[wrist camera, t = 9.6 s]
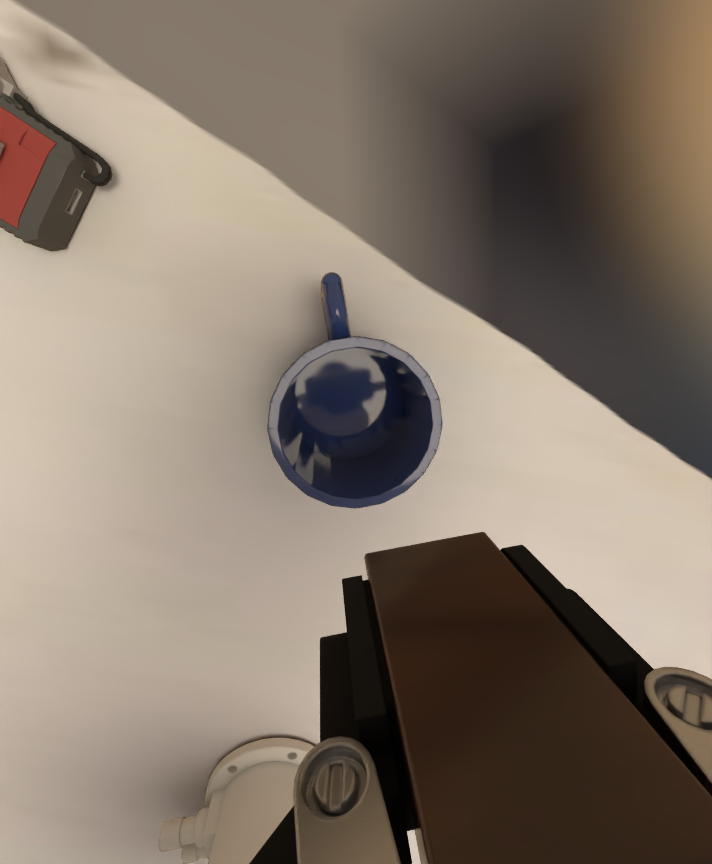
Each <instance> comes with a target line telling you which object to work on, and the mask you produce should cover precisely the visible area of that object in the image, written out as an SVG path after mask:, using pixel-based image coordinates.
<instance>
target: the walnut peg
mask: <svg viewBox="0 0 712 864" xmlns="http://www.w3.org/2000/svg"><path fill="white" fill-rule="evenodd" d="M364 558H365V564H366V570H367V576H368V580H369V583H370V588H371V593H372V598H373V602H374V607H375V612H376V617H377V622H378V627H379V631H380V636H381V641H382V646H383V651H384V656H385V661H386V665H387V670H388V675H389V680H390V685H391V690H392V695H393V700H394V705H395V710H396V716H397V721H398V728H399V734H400V740H401V746H402V752H403V759H404V765H405V771H406V777H407V784H408V790H409V796H410V802H411V809H412V815H413V821H414V828H415V829H414V830H415V835H416V840H417V846H418V851H419V856H420V861H421V864H712V796H711V795H710V794H709V793H708V791H707V790H706V789H705V788H704V787H703V786H702V784H701V783H700V782H699V781H698V780H697V779H696V777H695V776H694V775H693V774H692V773H691V772H690V770H689V769H688V768H687V767H686V766H685V765H684V763H683V762H682V761H681V760H680V759H679V758H678V756H677V755H676V754H675V753H674V752H673V751H672V749H671V748H670V747H669V746H668V745H667V744H666V743H665V741H664V740H663V739H662V738H661V737H660V736H659V734H658V733H657V732H656V731H655V730H654V729H653V727H652V726H651V725H650V724H649V723H648V722H647V720H646V719H645V718H644V717H643V716H642V715H641V713H640V712H639V711H638V710H637V709H636V708H635V706H634V705H633V704H632V703H631V702H630V701H629V700H628V698H627V697H626V696H625V695H624V694H623V693H622V691H621V690H620V689H619V688H618V687H617V686H616V684H615V683H614V682H613V681H612V680H611V679H610V677H609V676H608V675H607V674H606V673H605V672H604V670H603V669H602V668H601V667H600V666H599V665H598V663H597V662H596V661H595V660H594V659H593V658H592V657H591V655H590V654H589V653H588V652H587V651H586V650H585V648H584V647H583V646H582V645H581V644H580V643H579V641H578V640H577V639H576V638H575V637H574V636H573V634H572V633H571V632H570V631H569V630H568V629H567V627H566V626H565V625H564V624H563V623H562V622H561V620H560V619H559V618H558V617H557V616H556V615H555V614H554V612H553V611H552V610H551V609H550V608H549V607H548V605H547V604H546V603H545V602H544V601H543V600H542V598H541V597H540V596H539V595H538V594H537V593H536V591H535V590H534V589H533V588H532V587H531V586H530V584H529V583H528V582H527V581H526V580H525V579H524V577H523V576H522V575H521V574H520V573H519V572H518V571H517V569H516V568H515V567H514V566H513V565H512V564H511V562H510V561H509V560H508V559H507V558H506V557H505V555H504V554H503V553H502V552H501V551H500V550H499V548H498V547H497V546H496V545H495V544H494V543H493V541H492V540H491V539H490V538H489V537H488V536H487V534H486V533H484V532H479V533H474V534H468V535H463V536H458V537H452V538H447V539H442V540H436V541H431V542H426V543H420V544H415V545H410V546H404V547H399V548H394V549H389V550H383V551H378V552H373V553H367V554H365V557H364Z"/></svg>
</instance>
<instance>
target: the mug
mask: <svg viewBox="0 0 712 864" xmlns="http://www.w3.org/2000/svg"><path fill="white" fill-rule="evenodd" d="M321 300H322V306H323V311H324V317H325V323H326V329H327V335H328V341H325V342H323V343H321V344H319V345H317V346H315V347H314V348H312V349H310V350H308V351H306V352H305V353H303V354H302V355H301V356H300V357H299V358H298V359H297V360H296V361H295V362H294V363H293V364H292V365H291V366H290V368H289V369H288V370H287V371H286V372H285V373H284V374H283V375H282V377H281V379H280V381H279V383H278V385H277V387H276V390H275V392H274V394H273V396H272V398H271V401H270V408H269V417H268V426H267V428H268V434H269V439H270V443H271V448H272V452H273V454H274V457H275V459H276V461H277V462H278V464H279V466H280V467H281V469H282V471H283V472H284V474H285V476H286V477H287V478H288V479H289V480H290V481H291V482H292V483H293V484H294V485H296V486H297V487H298V488H299V489H300V490H301V491H302V492H304V493H305V494H306V495H308V496H310V497H312V498H314V499H317V500H319V501H321V502H324V503H326V504H328V505H331V506H338V507H347V508H361V507H367V506H372V505H377V504H382V503H384V502H386V501H388V500H390V499H392V498H394V497H396V496H398V495H400V494H402V493H404V492H405V491H407V490H408V489H409V488H410V487H411V486H412V485H413V484H414V483H415V482H416V481H417V480H418V479H419V478H420V477H421V476H422V475H423V474H424V473H425V471H426V469H427V468H428V466H429V464H430V462H431V460H432V459H433V457H434V455H435V453H436V451H437V449H438V444H439V439H440V434H441V430H442V416H441V407H440V399H439V396H438V394H437V392H436V390H435V387H434V385H433V383H432V381H431V379H430V376H429V375H428V373H427V372H426V371H425V370H424V369H423V368H422V367H421V366H420V364H419V363H418V362H417V361H416V360H415V359H414V358H413V357H412V356H411V355H410V354H409V353H407V352H405V351H403V350H401V349H400V348H398V347H396V346H394V345H392V344H390V343H388V342H386V341H384V340H378V339H372V338H366V337H360V336H353V337H351V334H350V327H349V321H348V314H347V308H346V302H345V295H344V289H343V282H342V279H341V277H340V276H339V275H338V274H337V273H334V272H329V273H327V274H325V275H324V276H323V278H322V280H321Z"/></svg>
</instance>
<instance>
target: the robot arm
mask: <svg viewBox="0 0 712 864" xmlns="http://www.w3.org/2000/svg"><path fill="white" fill-rule="evenodd" d="M501 552H502V553H503V554H504V555H505V557H506V558H507V559H508V560H509V561H510V562H511V564H512V565H513V566H514V567H515V568H516V569H517V571H518V572H519V573H520V574H521V575H522V576H523V577H524V579H525V580H526V581H527V582H528V583H529V584H530V586H531V587H532V588H533V589H534V590H535V591H536V593H537V594H538V595H539V596H540V597H541V598H542V600H543V601H544V602H545V603H546V604H547V605H548V607H549V608H550V609H551V610H552V611H553V612H554V614H555V615H556V616H557V617H558V618H559V619H560V620H561V622H562V623H563V624H564V625H565V626H566V627H567V629H568V630H569V631H570V632H571V633H572V634H573V636H574V637H575V638H576V639H577V640H578V641H579V643H580V644H581V645H582V646H583V647H584V648H585V650H586V651H587V652H588V653H589V654H590V655H591V657H592V658H593V659H594V660H595V661H596V662H597V663H598V665H599V666H600V667H601V668H602V669H603V670H604V672H605V673H606V674H607V675H608V676H609V677H610V679H611V680H612V681H613V682H614V683H615V684H616V686H617V687H618V688H619V689H620V690H621V691H622V693H623V694H624V695H625V696H626V697H627V698H628V700H629V701H630V702H631V703H632V704H633V705H634V706H635V708H636V709H637V710H638V711H639V712H640V713H641V715H642V716H643V717H644V718H645V719H646V720H647V722H648V723H649V724H650V725H651V726H652V727H653V729H654V730H655V731H656V732H657V733H658V734H659V736H660V737H661V738H662V739H663V740H664V741H665V743H666V744H667V745H668V746H669V747H670V748H671V749H672V751H673V752H674V753H675V754H676V755H677V756H678V758H679V759H680V760H681V761H682V762H683V763H684V765H685V766H686V767H687V768H688V769H689V770H690V772H691V773H692V774H693V775H694V776H695V777H696V779H697V780H698V781H699V782H700V783H701V784H702V786H703V787H704V788H705V789H706V790H707V791H708V793H709V794H710V795H711V796H712V680H711V679H710V678H708V677H706V676H703V675H701V674H698V673H696V672H694V671H690V670H686V669H682V668H677V667H662V668H658V669H653V668H652V667H651V666H650V665H649V664H648V663H647V662H646V661H645V660H644V659H643V658H642V657H641V656H640V655H639V654H638V653H637V652H636V651H635V650H634V649H633V648H632V647H631V646H630V645H629V644H628V643H627V642H626V641H625V640H624V639H623V638H622V637H621V636H620V635H619V634H617V633H616V632H615V631H614V630H613V629H612V628H611V627H610V626H609V625H608V624H607V623H606V622H605V621H604V620H603V619H602V618H601V617H600V616H599V615H598V614H597V613H596V612H595V611H594V610H593V609H592V608H591V607H590V606H589V605H588V604H587V603H586V602H585V601H584V600H583V599H582V598H581V597H580V596H579V595H578V594H577V593H576V592H574V591H573V590H571V589H566V588H565V587H564V586H563V585H562V584H561V583H560V582H559V581H558V580H557V579H556V578H555V577H554V576H553V575H552V574H551V573H550V572H549V571H548V570H547V569H546V568H545V567H544V566H543V565H542V564H541V563H540V562H539V561H538V560H537V559H536V557H535V556H534V555H533V554H532V553H531V552H530V551H529V550H528V549H527V548H526V547H524V546H523V545H518V546H513V547H507V548H502V549H501ZM342 584H343V595H344V605H345V616H346V626H347V633H342V634H337V635H331V636H326V637H321V639H320V743H319V744H317V745H316V746H315V747H314V746H313V745H311V744H309V743H306V742H303V741H300V740H296V739H290V738H268V739H261V740H258V741H254V742H251V743H248V744H246V745H244V746H241V747H239V748H237V749H236V750H234V751H233V752H231V753H230V754H228V755H227V756H226V757H225V758H224V759H223V760H222V761H221V762H220V763H219V764H218V765H217V766H216V768H215V769H214V771H213V772H212V774H211V777H210V779H209V782H208V786H207V790H206V795H205V808H202V809H200V810H199V812H198V815H196V816H191V817H187V818H186V817H182V818H178V819H173V820H169V821H165V822H164V823H163V825H162V827H161V830H160V834H159V849H160V851H162V852H163V851H168V850H172V849H176V848H181V847H183V849H182V863H183V864H186V863H190V862H194V861H198V860H199V859H203V858H207V857H208V859H209V861H208V864H412V860H411V854H410V848H409V842H408V836H407V831H409V830H414V829H415V828H414V821H413V815H412V809H411V802H410V796H409V790H408V784H407V777H406V771H405V765H404V759H403V752H402V746H401V740H400V734H399V728H398V721H397V716H396V710H395V705H394V700H393V695H392V690H391V685H390V680H389V675H388V670H387V665H386V661H385V656H384V651H383V646H382V641H381V636H380V631H379V627H378V622H377V617H376V612H375V607H374V602H373V598H372V593H371V588H370V583H369V580H365V581H363V580H362V575H361V576H355V577H350V578H345V579H342Z"/></svg>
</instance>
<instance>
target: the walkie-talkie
mask: <svg viewBox="0 0 712 864" xmlns="http://www.w3.org/2000/svg"><path fill="white" fill-rule="evenodd" d="M27 99H28V98H27V97H26V96H25V95H24V94H23V93H21V92H20V91H19V90H18V89H17V87H16V85H15V83H14V81H13V79H12V77H11V75H10V73H9V71H8V69H7V67H6V65H5V63H4V62H3V60H2V59H1V57H0V227H1V228H4V229H5V231H7V232H9V233H12V234H14V236H15V237H17V238H20V239H23V241H24V242H26V243H29V244H32V245H34V246H37V247H40V248H43V249H46V250H49V251H54V250H60V249H65V247H66V245H67V243H68V241H69V239H70V237H71V235H72V233H73V230H74V228H75V226H76V224H77V222H78V220H79V218H80V216H81V214H82V212H83V209H84V207H85V205H86V203H87V201H88V199H89V197H90V195H91V193H92V191H93V188H94V186H95V185H98V186H104V185H107V183H108V182H109V181H110V180H111V179H112V171H111V168H110V166H109V165H108V163H107V162H106V161H105V160H104V159H103V158H102V157H100V156H99V155H98V154H97V153H95V152H94V151H92V150H91V149H89V148H88V147H86V146H85V145H83V144H82V143H80V142H79V141H77V140H76V139H74V138H73V137H71V136H70V135H68V134H67V133H65V132H64V131H62V130H61V129H59V128H58V127H56V126H55V125H53V124H52V123H50V122H49V121H47V120H46V119H44V118H43V117H42V116H40V115H39V114H37V113H36V112H35V110H34V109H33V107H32V106H31V104H30V103H29V102H28V101H27ZM22 108H24V110H25V111H26V112H24V111H23V110H22ZM27 113H28V114H29V115H30V116H29V115H28V114H27ZM87 155H88V156H89V157H91V158H92V159H94V160H95V161H97V162H98V163H99V164H100V166H101V168H102V172H101V173H100V174H98V172H97V169H96V166H95V163H94V161H93V160H92V159H91V158H89V157H88V156H87Z"/></svg>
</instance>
